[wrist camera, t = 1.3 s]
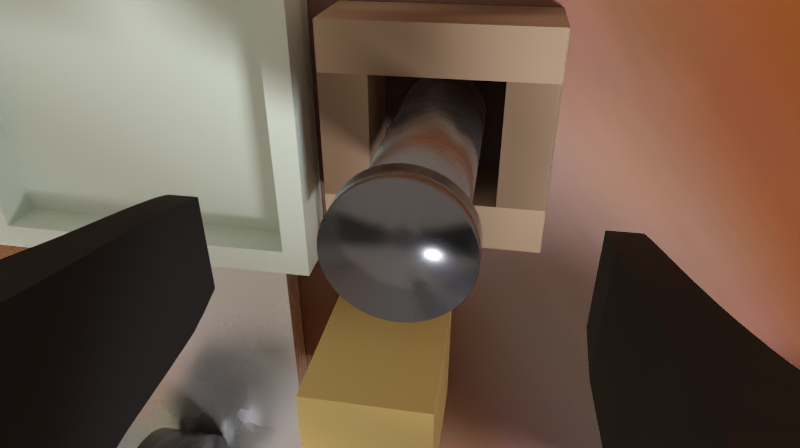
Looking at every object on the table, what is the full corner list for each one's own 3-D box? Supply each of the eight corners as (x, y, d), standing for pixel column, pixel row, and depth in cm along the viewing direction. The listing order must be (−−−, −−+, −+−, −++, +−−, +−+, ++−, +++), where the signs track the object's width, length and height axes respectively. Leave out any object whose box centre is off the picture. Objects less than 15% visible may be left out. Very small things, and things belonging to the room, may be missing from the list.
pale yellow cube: (452, 304, 21) (434, 414, 17) (447, 389, 23) (430, 505, 19) (340, 293, 22) (295, 396, 18) (345, 376, 24) (306, 486, 20)
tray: (296, -136, 15) (271, -137, 14) (325, 246, 21) (309, 276, 19) (-93, -135, 17) (-155, -136, 15) (30, 218, 22) (-6, 244, 21)
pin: (500, 62, 17) (485, 189, 10) (492, 163, 18) (474, 330, 12) (392, 57, 17) (310, 176, 11) (393, 155, 19) (321, 313, 12)
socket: (564, 7, 16) (570, 27, 14) (538, 211, 19) (540, 252, 17) (338, 0, 17) (312, 18, 15) (348, 196, 20) (327, 233, 18)
